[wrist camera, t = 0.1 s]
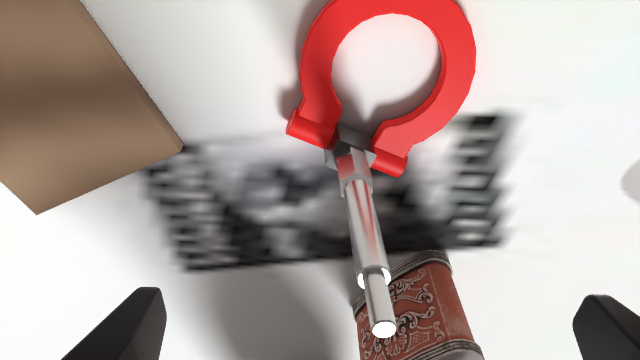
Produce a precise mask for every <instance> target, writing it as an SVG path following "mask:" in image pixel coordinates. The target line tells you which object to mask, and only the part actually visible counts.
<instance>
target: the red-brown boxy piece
mask: <svg viewBox="0 0 640 360" xmlns="http://www.w3.org/2000/svg"><path fill="white" fill-rule="evenodd" d="M390 271H391V276H392V277H391V281H390V283H389V284H388V285H387V286H388V290H389V294H390V299H391V303H392V307H393V312H394V316H395V321H396V325H397V330H396V332H395V333H394V334H392V335H391V336H389V337H385V338H381V337H377V336H375V335H374V334H373V333H372V332H371V327H370V321H369V315H368V309H367V303H366V297H365V291H364V292H363V293H362V294H361V295H360V296H359V297H358V298H357V300H356V301H355V302H354V304H353V316H354V320H355V322H356V323H357V330H358V340H359V351H360V360H485V359H484V357H483V354H482V351H481V348H480V346H479V345H477V344H476V343H475V342H474V339H473V336H472V333H471V330H470V327H469V325H468V322H467V319H466V316H465V313H464V310H463V308H462V305H461V302H460V299H459V296H458V293H457V291H456V288H455V285H454V282H453V279H452V273H453V271H452V268H451V265H450V262H449V260H448V257H447V256H446V255H445V254H444V253H442V252H440V251H436V250H425V251H422V252H420V253H418V254H416V255H414V256H412V257H410V258H408V259H407V260H405V261H403V262H401V263H399V264H398V265H396V266H395V267H393V268H392V269H390Z"/></svg>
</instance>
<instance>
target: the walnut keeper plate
mask: <svg viewBox="0 0 640 360" xmlns="http://www.w3.org/2000/svg"><path fill="white" fill-rule="evenodd" d="M183 145H184V143H183V142H182V141H181V139H180V138H179V137H178V135H177V134H176V132H175V131H174V130H173V128H172V127H171V126H170V124H169V123H168V121H167V120H166V119H165V117H164V116H163V115H162V113H161V112H160V110H159V109H158V108H157V106H156V105H155V104H154V102H153V101H152V99H151V98H150V97H149V95H148V94H147V93H146V91H145V90H144V89H143V87H142V86H141V84H140V83H139V82H138V80H137V79H136V78H135V76H134V75H133V73H132V72H131V71H130V69H129V68H128V67H127V65H126V64H125V62H124V61H123V60H122V58H121V57H120V56H119V54H118V53H117V51H116V50H115V49H114V47H113V46H112V45H111V43H110V42H109V40H108V39H107V38H106V36H105V35H104V34H103V32H102V31H101V30H100V28H99V27H98V25H97V24H96V23H95V21H94V20H93V19H92V17H91V16H90V14H89V13H88V12H87V10H86V9H85V8H84V6H83V5H82V3H81V2H80V1H79V0H0V181H1V182H2V183H3V184H4V185H5V186H6V187H7V188H8V189H9V190H10V191H12V192H13V193H14V194H15V195H16V196H17V197H18V198H19V199H20V200H21V201H22V202H23V203H24V204H25V205H26V206H27V207H28V208H29V209H31V210H32V211H33V212H34V213H35V214H36V215H38V214H40V213H43V212H45V211H47V210H49V209H52V208H54V207H56V206H58V205H61V204H63V203H65V202H67V201H70V200H72V199H74V198H76V197H79V196H81V195H83V194H85V193H88V192H90V191H92V190H94V189H97V188H99V187H101V186H103V185H106V184H108V183H110V182H113V181H115V180H117V179H119V178H122V177H124V176H126V175H128V174H131V173H133V172H135V171H137V170H140V169H142V168H144V167H146V166H149V165H151V164H153V163H155V162H158V161H160V160H162V159H164V158H167V157H169V156H171V155H173V154H176V153H178V152H180V151H181V149H182V147H183Z"/></svg>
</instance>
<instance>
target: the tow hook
mask: <svg viewBox="0 0 640 360" xmlns="http://www.w3.org/2000/svg"><path fill="white" fill-rule="evenodd" d="M390 13H394V14H402V15H408V16H411V17H413V18H415V19H418V20H420V21H422V22H423V23H424V24H425V25H426V26H428V27H429V28H430V30H431V31H432V33H433V34H434V36H435V38H436V39H437V41H438V45H439V49H440V52H441V70H440V74H439V78H438V81H437V84H436V85H435V87H434V89H433V91H432V93H431V94H430V96H429V97H428V98H427V99H426V100H425V101H424V102H423V104H422V105H421V106H419V107H418V108H416V109H415V110H414V111H412V112H411V113H409V114H407V115H405V116H402V117H399V118H397V119H392V120H385V121H384V122H382V123H381V124H380V126H379V127H378V129H377V131H376V133H375V134H374V136H373V138H372V139H371V138H370V137H369V136H367V135H365V134H362V133H360V132H357V131H355V130H353V129H350V128H348V127H345V126H343V125H340V124H338V123H337V122H338V120H339V118H340V116H341V114H342V112H343V110H342V104H341V101H340V100H339V99H338V97H337V95H336V93H335V91H334V88H333V86H332V80H331V69H332V62H333V58H334V56H335V53H336V51H337V48H338V46H339V44H340V43H341V42H342V40H343V39H344V38H345V36H346V35H347V34H348V32H350V31H351V30H352V29H353V28H355V27H356V26H357V25H358V24H360V23H361V22H363V21H365V20H368V19H370V18H372V17H374V16H377V15H384V14H390ZM475 64H476V46H475V41H474V37H473V33H472V29H471V25H470V24H469V22H468V20H467V18H466V17H465V15H464V13H463V12H462V10H461V8H460V6H459V5H458V4H457V3H455V2H454V1H453V0H331V1H330V2H329V3H327V4H326V5H325V6H324V7H323V9H322V10H321V12H320V13H319V14H318V16H317V17H316V19H315V20H314V22H313V23H312V24H311V26H310V28H309V31H308V33H307V36H306V39H305V41H304V44H303V47H302V52H301V62H300V74H299V75H300V81H301V87H302V93H303V99H302V101H301V104H300V106H299V108H298V109H295V110H294V111H293V112H292V114H291V116H290V119H289V121H288V124H287V127H286V134H287V135H290V136H293V137H295V138H298V139H300V140H303V141H305V142H308V143H310V144H313V145H315V146H318V147H320V148H323V149H324V153H325V164H326V166H327V167H329V168H331V169H334V170H337V172H338V180H339V187H340V195H341V197H342V198H344V199H345V205H346V212H347V219H348V226H349V233H350V239H351V246H352V253H353V260H354V267H355V273H356V280H357V283H358V285H359V286H360V287H361V288H363V289H364V291H365V297H366V303H367V309H368V315H369V321H370V327H371V332H372V333H373V334H374V335H375V336H377V337H381V338H385V337H389V336H391V335H392V334H394V333H395V332H396V330H397V325H396V321H395V316H394V312H393V307H392V303H391V299H390V294H389V290H388V286H387V285H388V284H389V283H390V281H391V277H392V276H391V271H390V267H389V263H388V259H387V255H386V251H385V247H384V243H383V239H382V234H381V230H380V226H379V222H378V218H377V214H376V210H375V206H374V202H373V198H372V193H373V185H372V176H371V172H370V167H371V168H374V169H376V170H379V171H381V172H384V173H387V174H389V175H392V176H394V177H399V176H400V175H401V174H402V173H403V171H404V170H405V167H406V165H407V160H408V157H407V153H408V152H409V150H410V149H411V147H412V145H414V144H417V143H419V142H422V141H424V140H425V139H427V138H428V137H430V136H431V135H433V134H434V133H436V132H437V131H439V130H440V129H442V128H443V127H444V126H445V125H446V123H447V122H448V121H449V120H450V119H451V118H452V117H453V116H454V115H455V114H456V113H457V112H458V110H459V108H460V107H461V105H462V103H463V102H464V100H465V98H466V97H467V95H468V93H469V90H470V87H471V83H472V80H473V77H474V74H475Z"/></svg>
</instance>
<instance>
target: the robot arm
mask: <svg viewBox="0 0 640 360" xmlns="http://www.w3.org/2000/svg"><path fill="white" fill-rule="evenodd" d="M166 320H167V314H166V309H165V305H164V301H163V297H162V293H161V290H160V289H159V288H157V287H140V288H138V289H136V290H135V291H134V292H133V293H132V294H131V295H130V296H129V297H128V298H126V299H125V300H124V301H123V302H122V303H121V304H120V305H119V306H118V307H117V308H116V309H115V310H114V311H113V312H111V313H110V314H109V315H108V316H107V317H106V318H105V319H104V320H103V321H102V322H101V323H100V324H99V325H98V326H96V327H95V328H94V329H93V330H92V331H91V332H90V333H89V334H88V335H87V336H86V337H85V338H84V339H83V340H82V341H80V342H79V343H78V344H77V345H76V346H75V347H74V348H73V349H72V350H71V351H70V352H69V353H68V354H67V355H65V356H64V357H63V358H62V359H61V360H159V355H160V350H161V346H162V341H163V336H164V332H165V327H166ZM573 331H574V334H575V337H576V340H577V343H578V346H579V349H580V352H581V355H582V358H583V360H640V317H639V316H638V315H637V314H635V313H634V312H632V311H631V310H629V309H628V308H627V307H625V306H624V305H622V304H621V303H620V302H618V301H617V300H615V299H614V298H612V297H611V296H608V295H588V296H586V297H585V298H584V300H583V302H582V304H581V306H580V307H579V309H578V311H577V313H576V315H575V317H574V319H573Z"/></svg>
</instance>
